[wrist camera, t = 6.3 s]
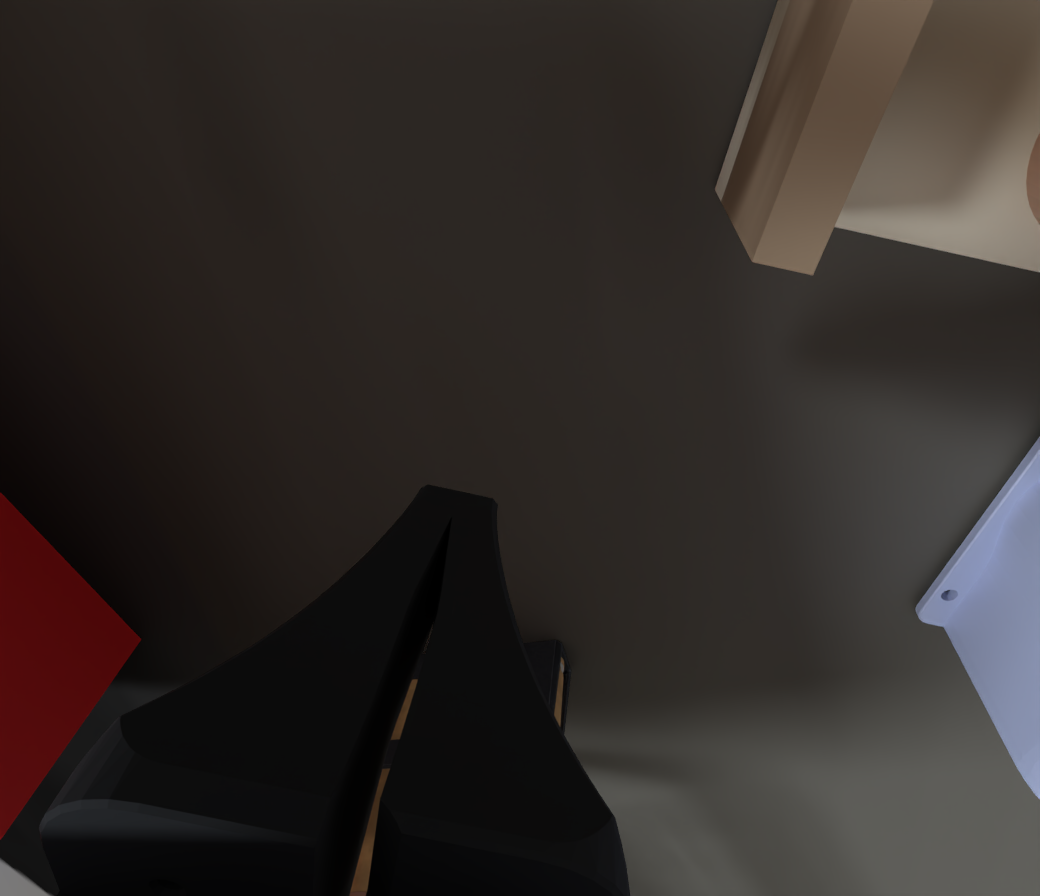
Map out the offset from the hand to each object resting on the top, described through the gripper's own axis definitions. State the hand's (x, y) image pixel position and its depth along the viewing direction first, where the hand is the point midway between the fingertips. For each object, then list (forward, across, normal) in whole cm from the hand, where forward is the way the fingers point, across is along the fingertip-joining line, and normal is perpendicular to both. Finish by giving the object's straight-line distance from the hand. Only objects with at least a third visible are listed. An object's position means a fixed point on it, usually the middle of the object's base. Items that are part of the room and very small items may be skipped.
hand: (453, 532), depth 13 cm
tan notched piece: (+9, -10, -8) cm, 16 cm away
